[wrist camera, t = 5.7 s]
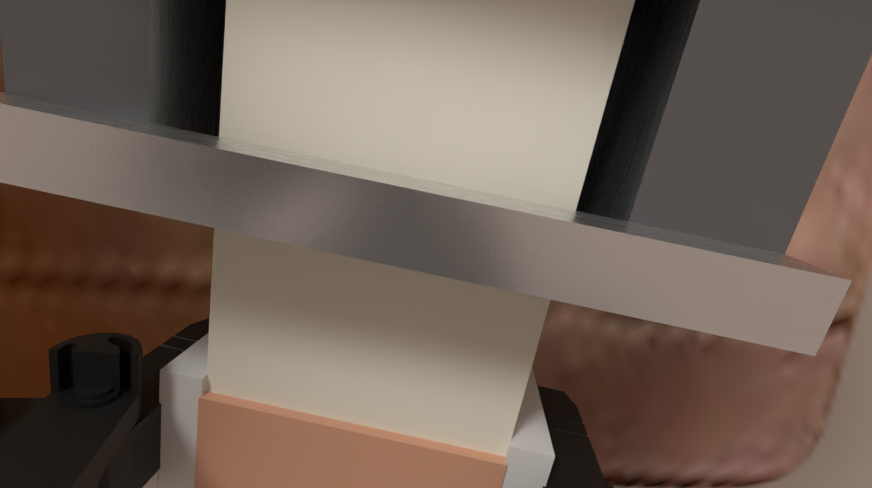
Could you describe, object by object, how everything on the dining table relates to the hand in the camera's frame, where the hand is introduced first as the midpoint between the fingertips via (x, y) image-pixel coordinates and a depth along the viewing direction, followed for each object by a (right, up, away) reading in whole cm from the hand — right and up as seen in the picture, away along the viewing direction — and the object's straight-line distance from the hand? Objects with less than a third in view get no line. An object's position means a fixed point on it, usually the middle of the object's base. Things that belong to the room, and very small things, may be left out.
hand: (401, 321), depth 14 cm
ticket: (+1, +4, -5) cm, 6 cm away
